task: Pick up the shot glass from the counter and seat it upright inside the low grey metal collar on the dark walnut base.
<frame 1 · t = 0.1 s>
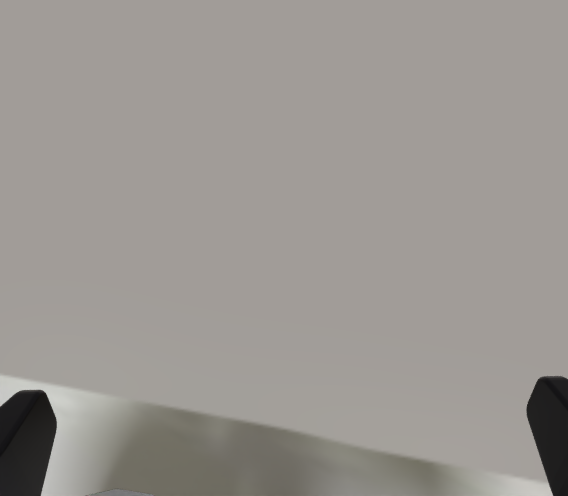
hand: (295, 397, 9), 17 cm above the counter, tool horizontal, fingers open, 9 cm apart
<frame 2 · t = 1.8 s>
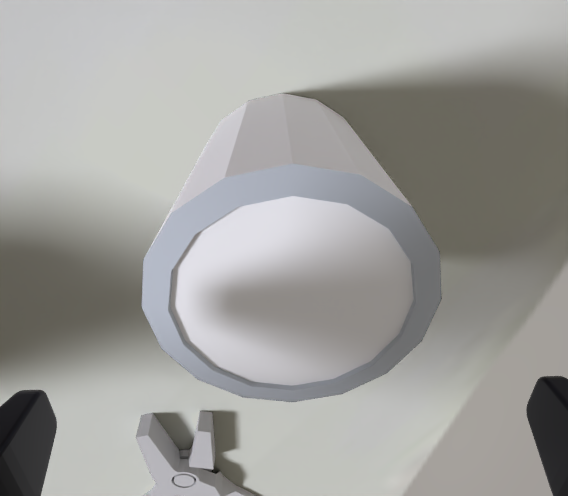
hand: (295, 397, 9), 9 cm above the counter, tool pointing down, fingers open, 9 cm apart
pliers: (197, 487, 28), on the counter
shot glass: (282, 172, 17), on the counter
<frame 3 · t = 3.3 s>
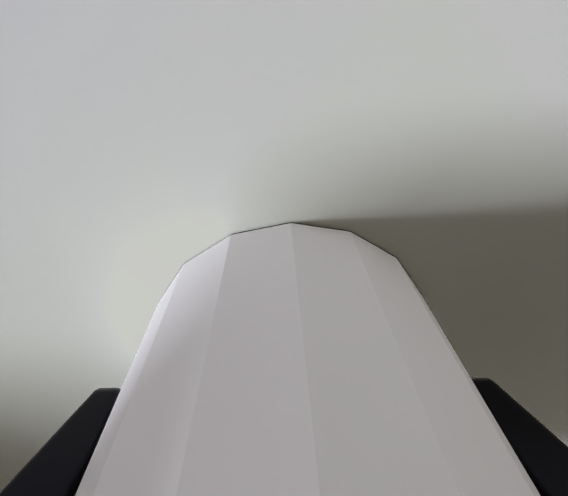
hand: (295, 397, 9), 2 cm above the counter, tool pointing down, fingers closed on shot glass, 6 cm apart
shot glass: (290, 332, 10), on the counter, touching gripper
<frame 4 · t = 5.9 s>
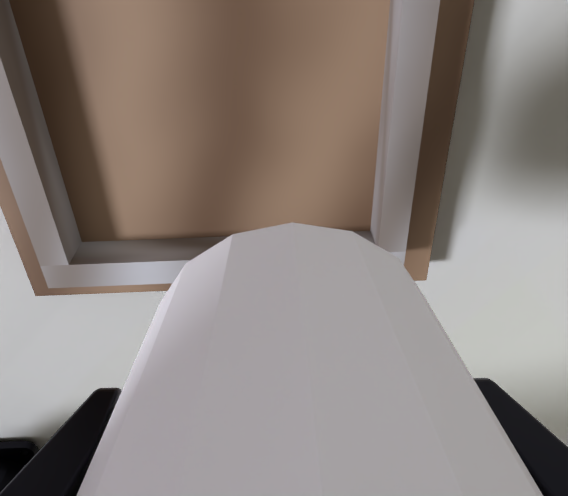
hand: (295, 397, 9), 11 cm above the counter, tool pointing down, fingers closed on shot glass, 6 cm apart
walnut seat: (214, 80, 17), on the counter
shot glass: (292, 331, 10), point 9 cm above the counter, touching gripper
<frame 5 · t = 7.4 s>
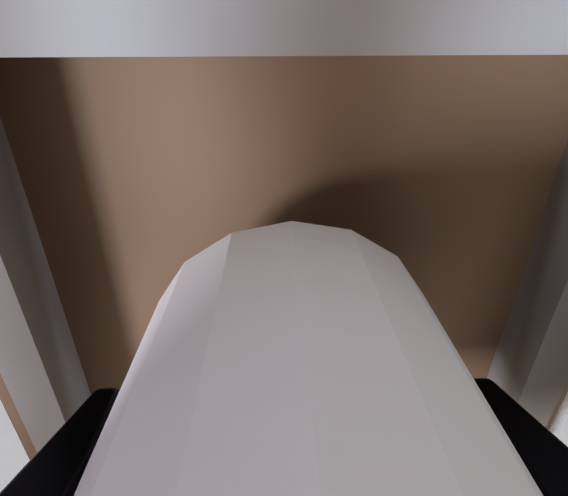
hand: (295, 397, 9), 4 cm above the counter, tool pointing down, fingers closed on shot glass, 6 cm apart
walnut seat: (289, 256, 13), on the counter
shot glass: (291, 330, 10), point 3 cm above the counter, touching gripper
when the fingers open (4 cm above the counter, at t = 8.4 s): shot glass drops 1 cm, resting on walnut seat.
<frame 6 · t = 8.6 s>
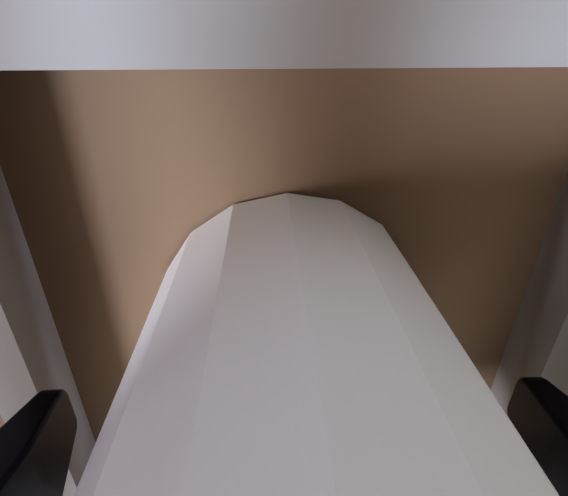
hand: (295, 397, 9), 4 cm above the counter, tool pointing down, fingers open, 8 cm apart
walnut seat: (287, 269, 12), on the counter
shot glass: (287, 297, 11), point 1 cm above the counter, touching walnut seat
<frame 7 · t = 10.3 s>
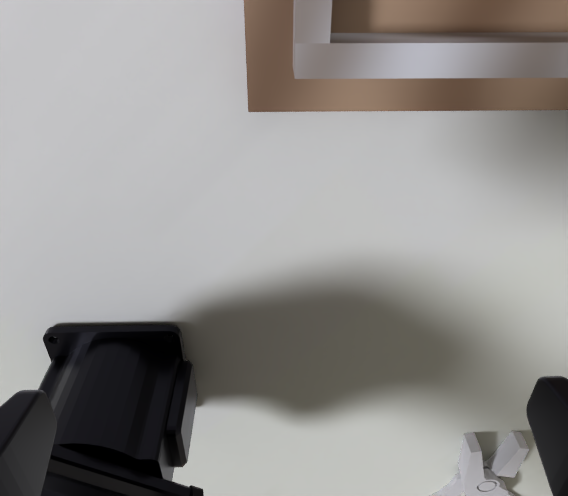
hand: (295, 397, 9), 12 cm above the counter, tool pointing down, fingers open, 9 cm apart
pliers: (466, 490, 34), on the counter
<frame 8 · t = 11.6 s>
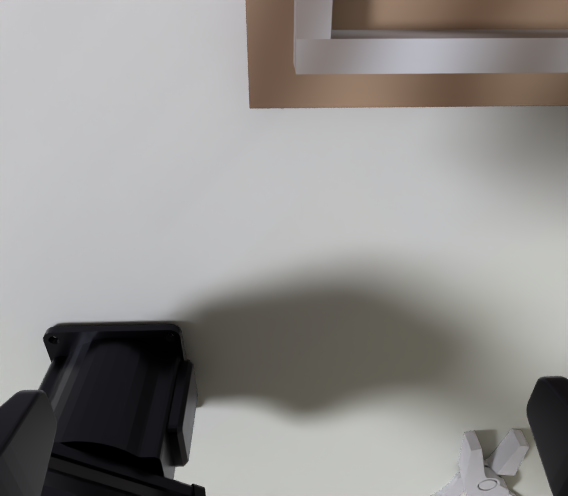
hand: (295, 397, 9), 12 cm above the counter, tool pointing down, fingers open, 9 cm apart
pliers: (466, 490, 34), on the counter
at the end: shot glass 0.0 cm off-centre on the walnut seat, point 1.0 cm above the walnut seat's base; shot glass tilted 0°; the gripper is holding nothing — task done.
